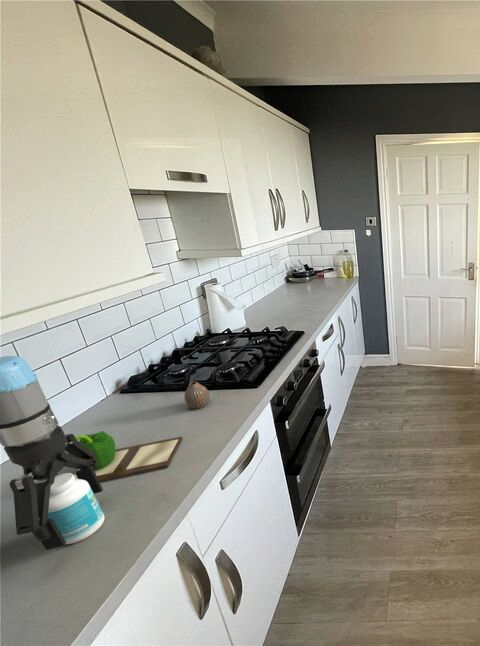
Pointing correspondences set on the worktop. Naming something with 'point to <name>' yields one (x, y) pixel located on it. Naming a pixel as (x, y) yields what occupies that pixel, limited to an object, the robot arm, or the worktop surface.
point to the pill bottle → (74, 508)
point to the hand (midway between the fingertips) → (77, 517)
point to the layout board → (139, 459)
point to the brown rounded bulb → (196, 395)
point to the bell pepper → (99, 447)
